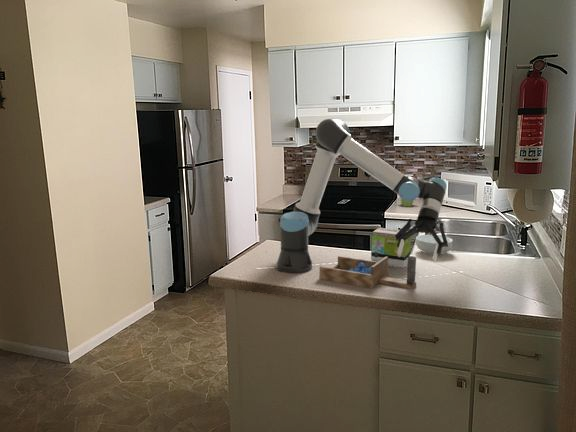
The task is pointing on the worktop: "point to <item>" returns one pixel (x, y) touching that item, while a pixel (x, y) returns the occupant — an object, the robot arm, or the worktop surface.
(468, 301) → the worktop surface
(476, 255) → the worktop surface
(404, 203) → the plant pot
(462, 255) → the worktop surface
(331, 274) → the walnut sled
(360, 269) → the grapes
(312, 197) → the robot arm
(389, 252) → the tea box
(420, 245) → the cereal bowl
